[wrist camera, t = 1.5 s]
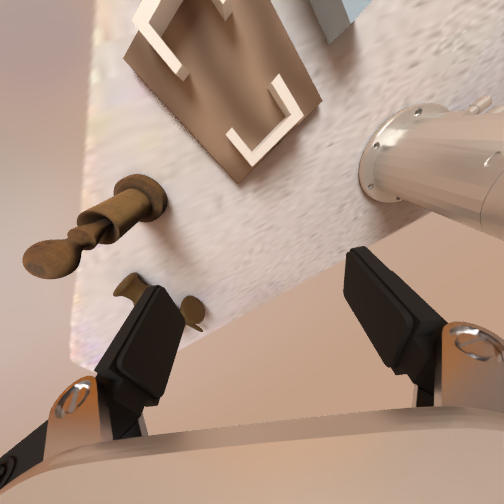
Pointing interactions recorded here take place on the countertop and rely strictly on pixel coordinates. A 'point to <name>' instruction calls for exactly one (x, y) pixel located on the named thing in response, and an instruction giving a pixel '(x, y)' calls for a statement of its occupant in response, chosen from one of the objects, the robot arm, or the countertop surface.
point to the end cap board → (226, 75)
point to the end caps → (152, 27)
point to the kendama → (135, 288)
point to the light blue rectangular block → (337, 15)
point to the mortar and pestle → (98, 227)
